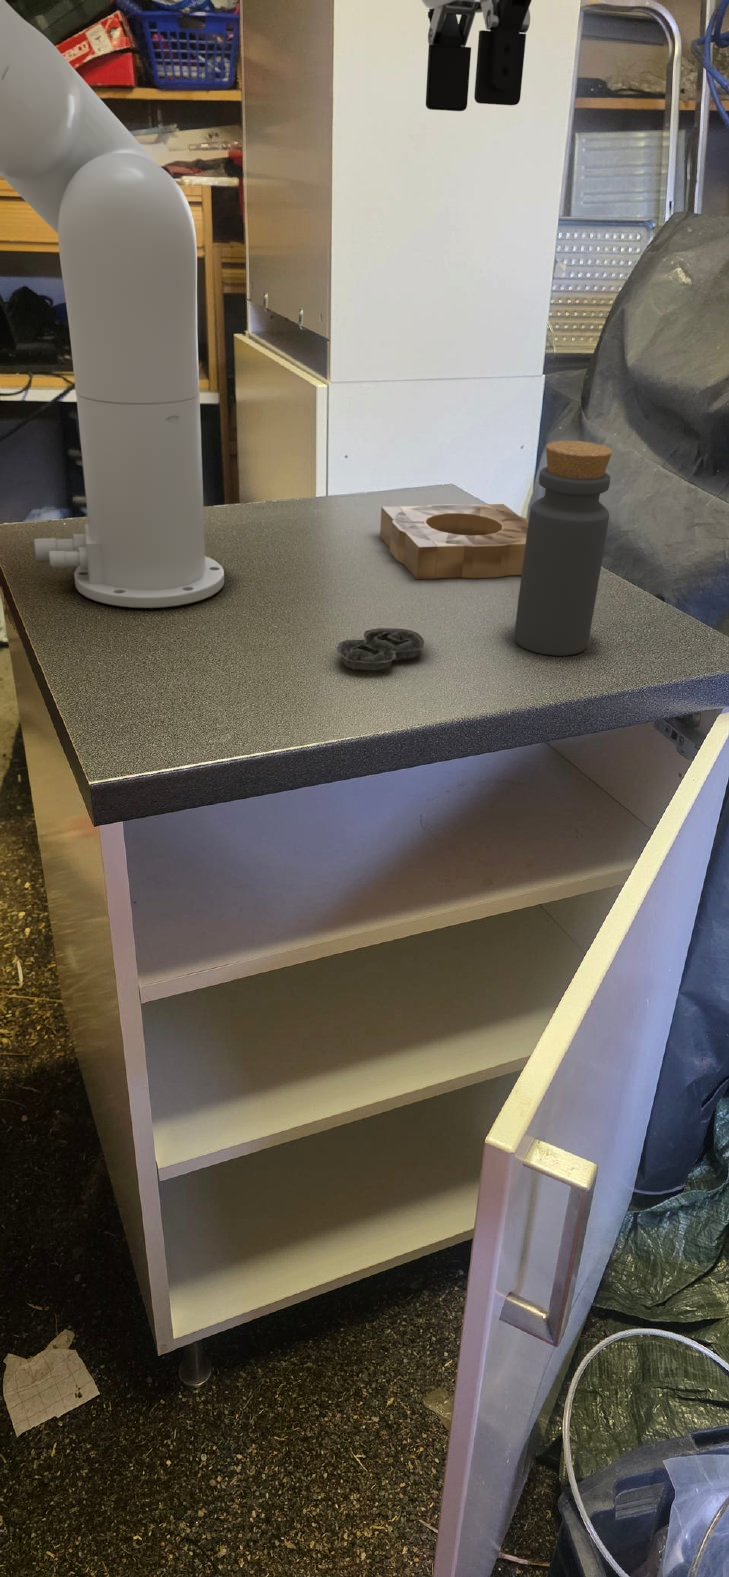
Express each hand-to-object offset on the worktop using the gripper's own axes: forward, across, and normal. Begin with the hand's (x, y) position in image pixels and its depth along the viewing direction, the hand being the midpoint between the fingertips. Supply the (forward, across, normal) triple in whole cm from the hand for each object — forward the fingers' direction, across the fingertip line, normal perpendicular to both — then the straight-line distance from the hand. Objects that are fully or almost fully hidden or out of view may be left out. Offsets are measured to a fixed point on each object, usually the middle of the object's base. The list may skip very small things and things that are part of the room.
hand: (470, 107), depth 75 cm
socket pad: (+36, -7, +5) cm, 37 cm away
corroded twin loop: (+36, +16, -10) cm, 40 cm away
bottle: (+36, +15, +4) cm, 39 cm away
